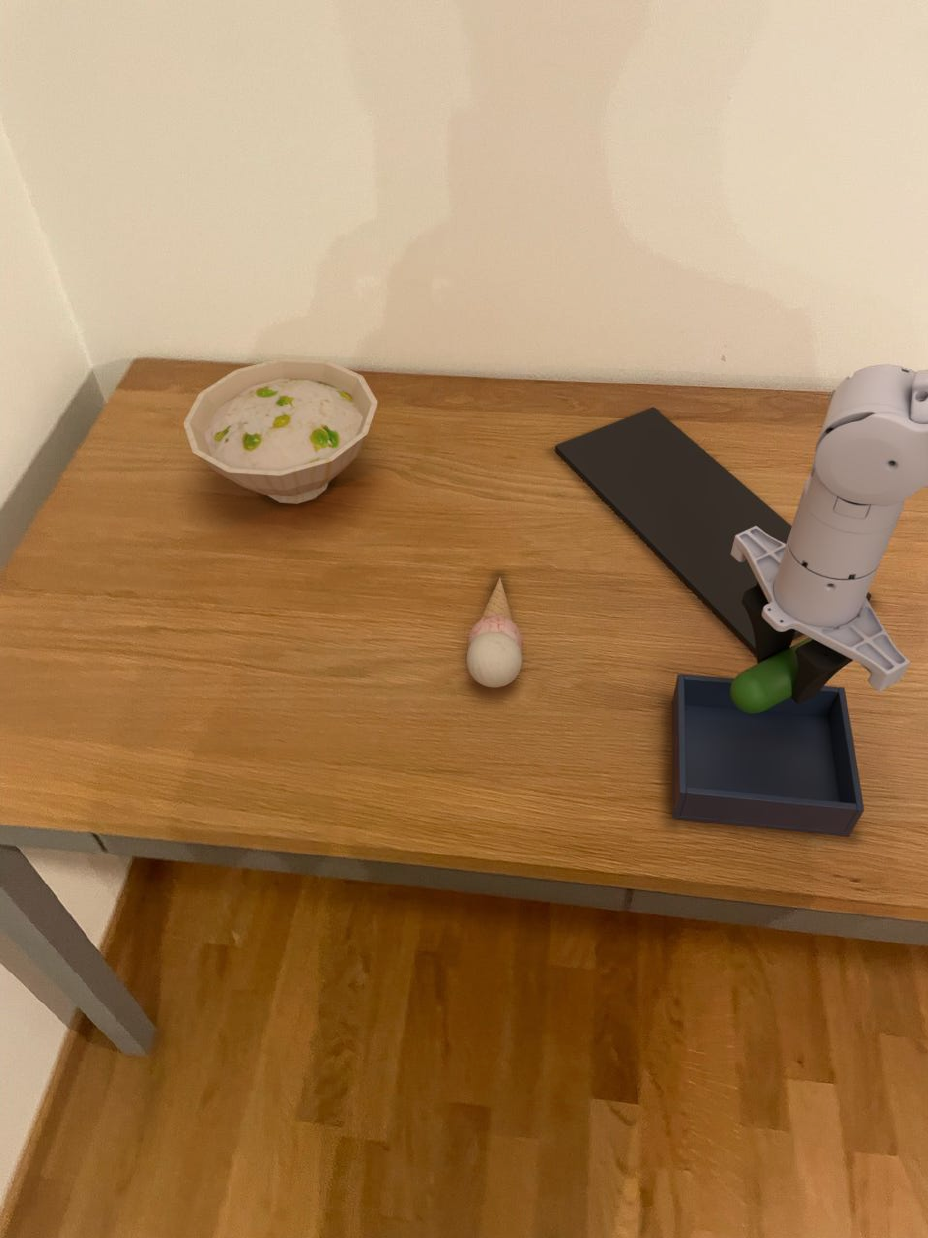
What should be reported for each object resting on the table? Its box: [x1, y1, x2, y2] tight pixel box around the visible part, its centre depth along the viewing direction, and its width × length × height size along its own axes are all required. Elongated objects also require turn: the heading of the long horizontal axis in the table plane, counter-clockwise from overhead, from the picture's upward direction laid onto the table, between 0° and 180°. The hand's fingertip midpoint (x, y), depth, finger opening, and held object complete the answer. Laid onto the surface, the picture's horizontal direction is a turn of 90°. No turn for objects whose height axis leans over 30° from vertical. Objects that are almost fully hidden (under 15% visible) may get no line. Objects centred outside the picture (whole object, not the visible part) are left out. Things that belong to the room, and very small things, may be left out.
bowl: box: [182, 357, 379, 505], centre depth 95 cm, size 19×19×10 cm
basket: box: [671, 673, 865, 837], centre depth 72 cm, size 13×11×4 cm
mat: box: [554, 406, 872, 656], centre depth 92 cm, size 33×13×1 cm, turn 29°
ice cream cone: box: [465, 577, 524, 688], centre depth 82 cm, size 5×5×15 cm
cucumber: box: [730, 637, 813, 713], centre depth 68 cm, size 10×3×3 cm, turn 119°
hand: (786, 677), depth 69 cm, fingers closed on cucumber, 3 cm apart
